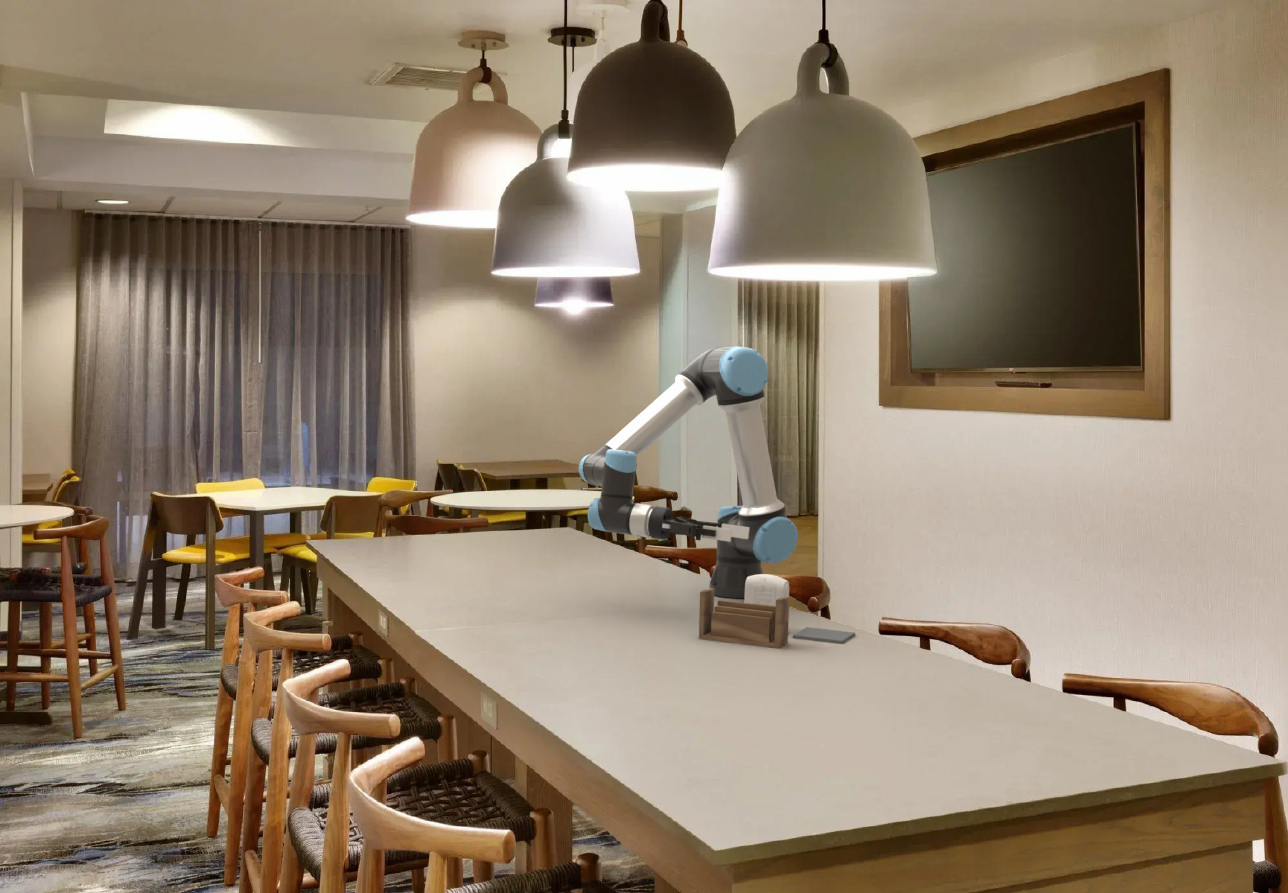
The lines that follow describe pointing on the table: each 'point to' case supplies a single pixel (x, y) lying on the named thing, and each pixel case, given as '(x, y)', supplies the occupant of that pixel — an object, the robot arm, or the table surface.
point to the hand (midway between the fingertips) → (740, 534)
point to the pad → (824, 635)
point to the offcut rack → (744, 621)
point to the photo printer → (765, 589)
